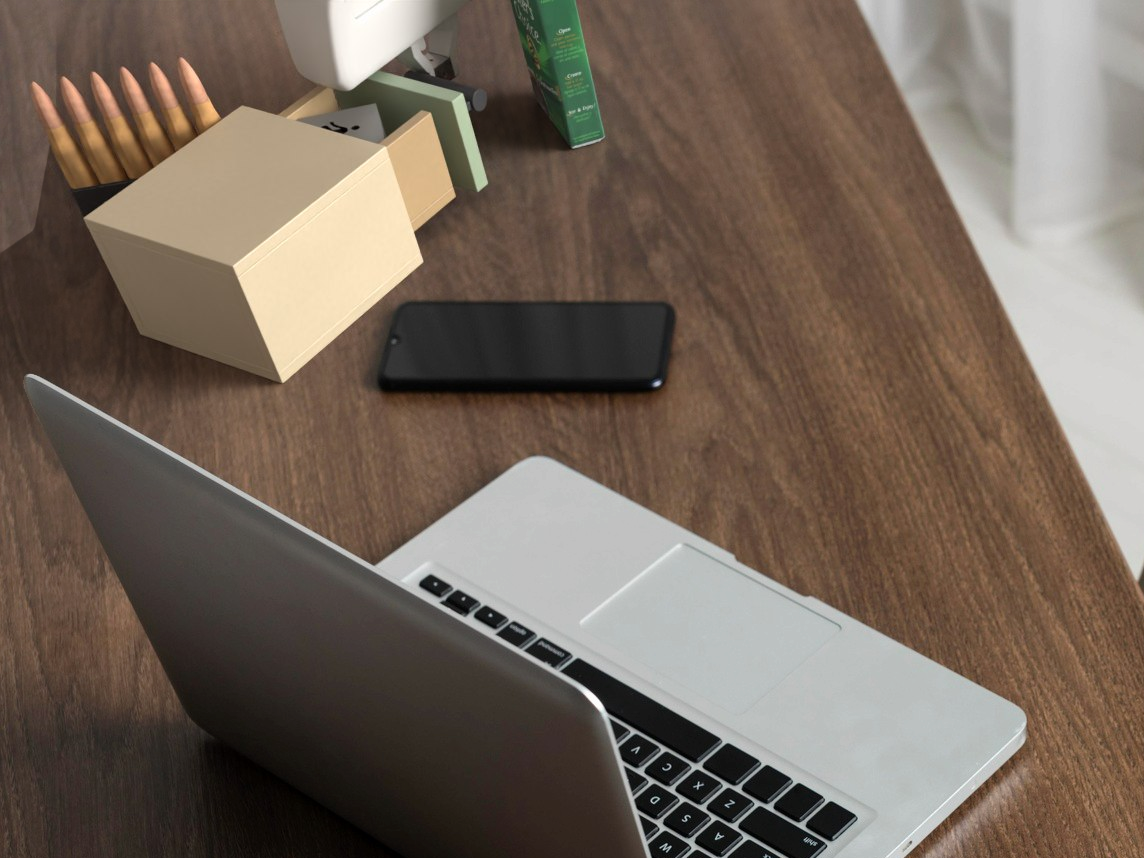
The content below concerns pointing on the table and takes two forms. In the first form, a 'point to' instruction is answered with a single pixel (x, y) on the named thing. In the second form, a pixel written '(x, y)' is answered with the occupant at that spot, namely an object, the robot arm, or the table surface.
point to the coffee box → (559, 67)
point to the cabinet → (258, 241)
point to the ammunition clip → (121, 131)
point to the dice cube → (352, 123)
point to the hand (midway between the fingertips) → (438, 83)
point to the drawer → (415, 133)
